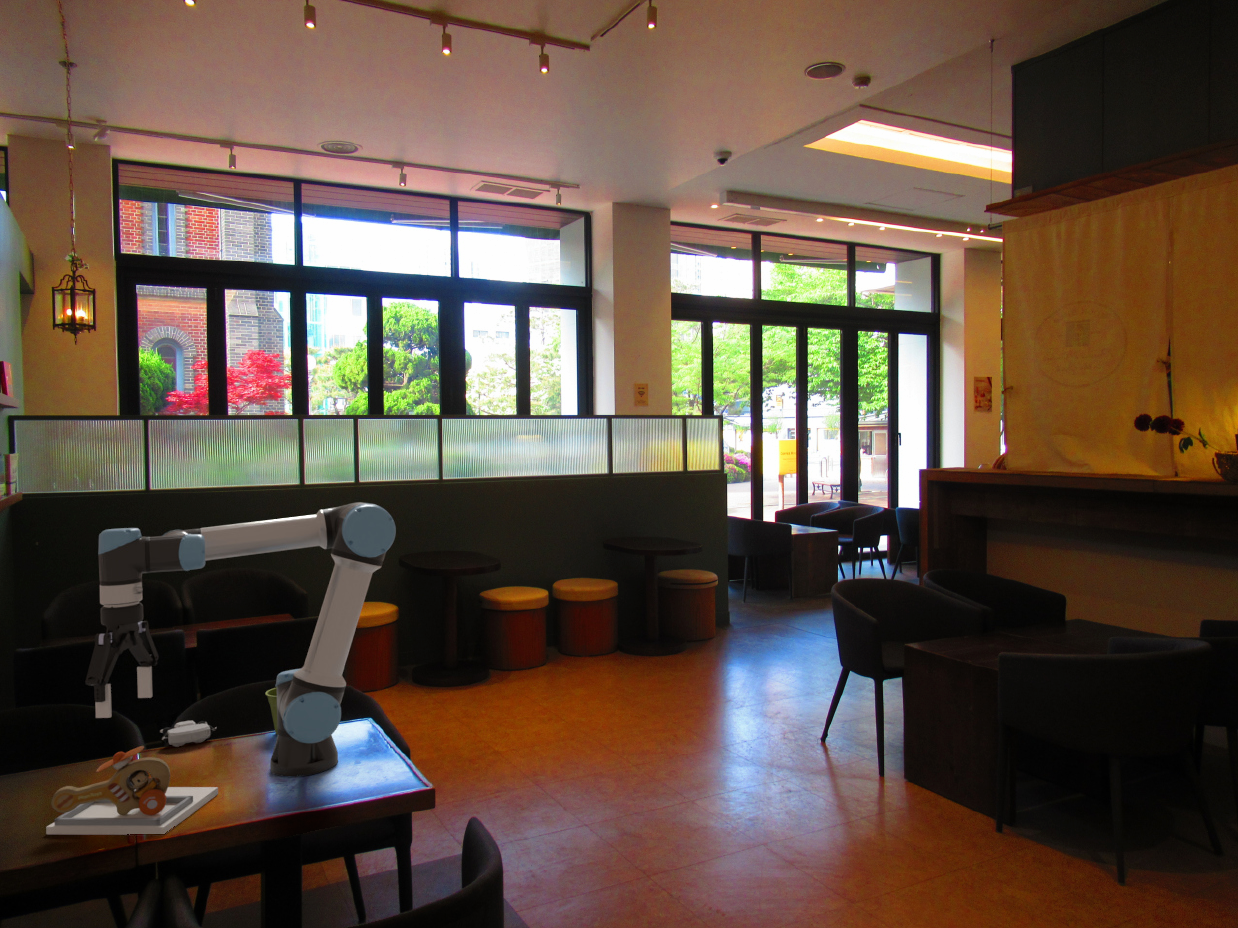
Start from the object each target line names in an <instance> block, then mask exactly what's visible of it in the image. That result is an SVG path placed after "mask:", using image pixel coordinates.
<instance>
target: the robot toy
mask: <svg viewBox="0 0 1238 928" xmlns="http://www.w3.org/2000/svg"><path fill="white" fill-rule="evenodd" d="M216 730H217V726H216V727H213V726H212V725H210V724H208V722H207V721H205V720H201V721H198V722H197V723H196V722H195V721H194V720H185V721H179V722H177V723H175V724H174V726H173V727H166V726H165V727H164V728H162V729H160V730H159V733H161V734H162V735H163V736H162V737H161V740H162V741H164V742H165V743H166V744H169V745H172V747H175V748H180V747H179V746H181V747H182V746H184V745H186V744H189V743H195V744H201V743H203V742H204V741H205V740H206V739H209V738H210V737H211V735H213V733H214V731H216Z"/></svg>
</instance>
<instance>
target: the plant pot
mask: <svg viewBox="0 0 1238 928" xmlns="http://www.w3.org/2000/svg"><path fill="white" fill-rule="evenodd" d="M265 696H266V697H267V700H268V703H269V705H270V711H271V716H272V721H273V727H274V731H275V732H274V733H275V734H276V735H277V736H278V726H277V687H274V688H271V689H268V690H266V692H265Z"/></svg>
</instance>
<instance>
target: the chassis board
mask: <svg viewBox="0 0 1238 928" xmlns="http://www.w3.org/2000/svg"><path fill="white" fill-rule="evenodd" d="M135 790H136V789H135ZM135 790H134V791H135ZM165 795H166V805H165V807H164V808H163V810H162V811H160V812H159V813H157V814H155V815H146V814H144V813H142V812H141V811H140V809H139V808H137V809H133V810H131V811H130V812H129V813H127V814H126V815H120V814H118V812H117V807H116V805H115V804H113V803H112V802H111V801H109V800H100V801H95V802H90V803H85V804H81V805H79V806H77V807H76V808H75V809H74V810H72V811H70V812H66V813H62V814H61V815H59V816H58V817H56V818H54V822H52V823H50V824H49V825H47V826H46V828H45V829H46V831H45V832H46V835H69V836H70V835H74V836H75V835H78V836H79V835H82V836H84V835H85V836H86V835H87V836H90V835H94V836H95V835H97V836H98V835H99V836H101V835H103V836H105V835H108V836H110V835H111V836H114V835H115V836H117V835H118V836H121V835H124V836H131V835H130V834H165V833H166V832H167V831H168V832H170V831H171V830H172V829H174V828H175V827H177V826H178V825H179V824H180V823H182V822H183V821H185V819H187V818H188V817H190V816H191V815H193V814H194V813H195V812H196V811H197V810H199V809H200V808H202V807H204V806H205V805H206V804H207V803H209V801H211V800H212V799H214V798H215V797H216V796H218V795H219V787H218V786H216V787H215V786H202V787H201V786H198V787H197V786H195V787H193V786H168V788H167V791H166V793H165ZM174 826H175V827H174ZM173 827H174V828H173ZM171 828H172V829H171ZM170 829H171V830H170ZM169 830H170V831H169ZM168 832H167V833H168ZM167 833H166V834H167ZM127 834H129V835H127ZM166 834H165V835H166Z"/></svg>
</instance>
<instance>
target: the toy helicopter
mask: <svg viewBox="0 0 1238 928" xmlns="http://www.w3.org/2000/svg"><path fill="white" fill-rule="evenodd" d="M144 748H145V746H144V745H141V746H137V747H136V748H133V749H130V750H129V751H126V752H124V751H118V752H116V753H115V754H114V755H113V756H112V759H110V760H108V761H106V762H104V763H102V764H101V765H100V766H98V768H97V769H96V771H95V772H96V773H100V772H102V771H105V770H106V769H108V768H110V767H113V769H115V770H116V772H114V774H113V775H112V776H111V778H109V779H107V780H103V781H100V782H96V783H93V784H89V785H86V786H82V787H75V786H72V785H66V786H63V787H60V788H59V789H58V790H56V791H55V793H54V794H53V796H52V798H51V801H50V802H51V803H50V804H51V807H52V808H53V810H54V811H55V812H58V813H61V814H64V813H66V812H70V811H72V810H74V809H75V808H76V807H77V806H79V805H81V804H85V803H90V802H95V801H100V800H109V801H111V802H112V803H113V804H115V805H116V807H117V812H118V814H120V815H126V814H127V813H129V812H130V811H131V810H133V809H137V808H139V809H140V811H141V812H142V813H144V814H146V815H155V814H157V813H159V812H160V811H162V810H163V808H164V807H165V805H166V795H165V793H166V791H167V788H168V787H170V786H169V785H170V782H171V771H170V767H169V764H168V763H167V762H166V761H165V760H163V759H162V758H159V757H154V756H149V757H148V756H147V757H141V758H136V759H134V760H132V759H133V756H135V755H138V754H139V753H141V752H142V751H143V750H144ZM131 760H132V761H131ZM129 775H130V777H129ZM128 777H129V783H128ZM134 788H136V790H135V789H134ZM134 790H135V791H134Z"/></svg>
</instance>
